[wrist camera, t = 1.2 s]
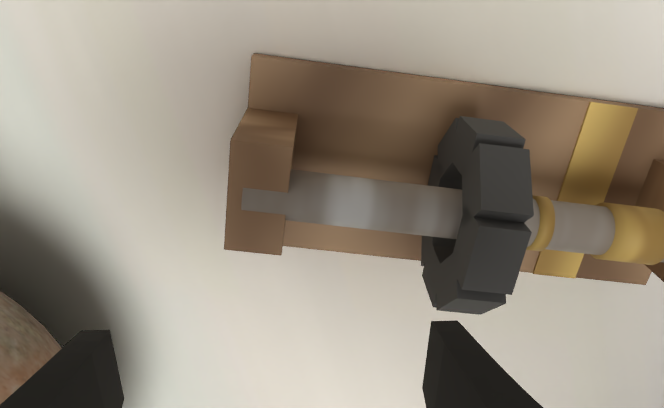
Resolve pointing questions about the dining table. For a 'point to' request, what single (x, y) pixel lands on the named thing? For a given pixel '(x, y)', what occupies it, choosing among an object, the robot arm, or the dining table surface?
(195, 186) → the dining table surface
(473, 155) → the dark grey hex nut
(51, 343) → the cooking pot
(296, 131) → the pipe stand
